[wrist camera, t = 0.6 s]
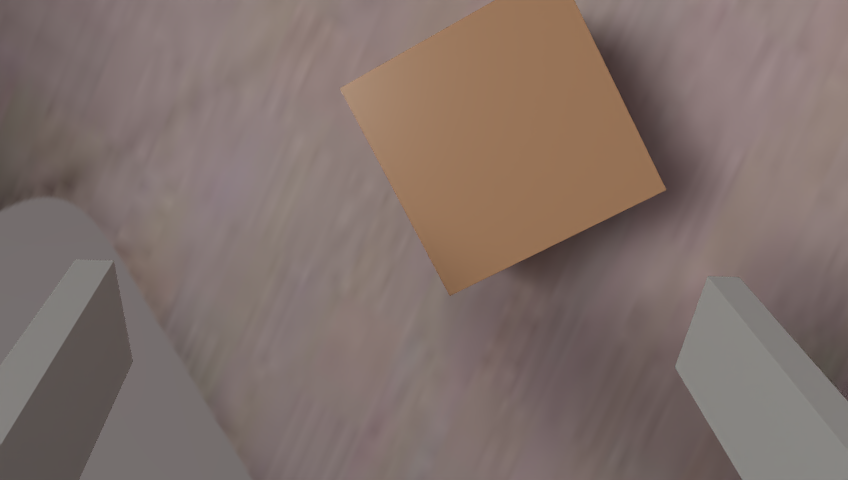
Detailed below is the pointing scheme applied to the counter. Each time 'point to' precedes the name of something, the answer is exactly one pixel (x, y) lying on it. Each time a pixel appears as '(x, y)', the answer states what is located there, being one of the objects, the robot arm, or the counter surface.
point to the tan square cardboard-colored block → (503, 137)
